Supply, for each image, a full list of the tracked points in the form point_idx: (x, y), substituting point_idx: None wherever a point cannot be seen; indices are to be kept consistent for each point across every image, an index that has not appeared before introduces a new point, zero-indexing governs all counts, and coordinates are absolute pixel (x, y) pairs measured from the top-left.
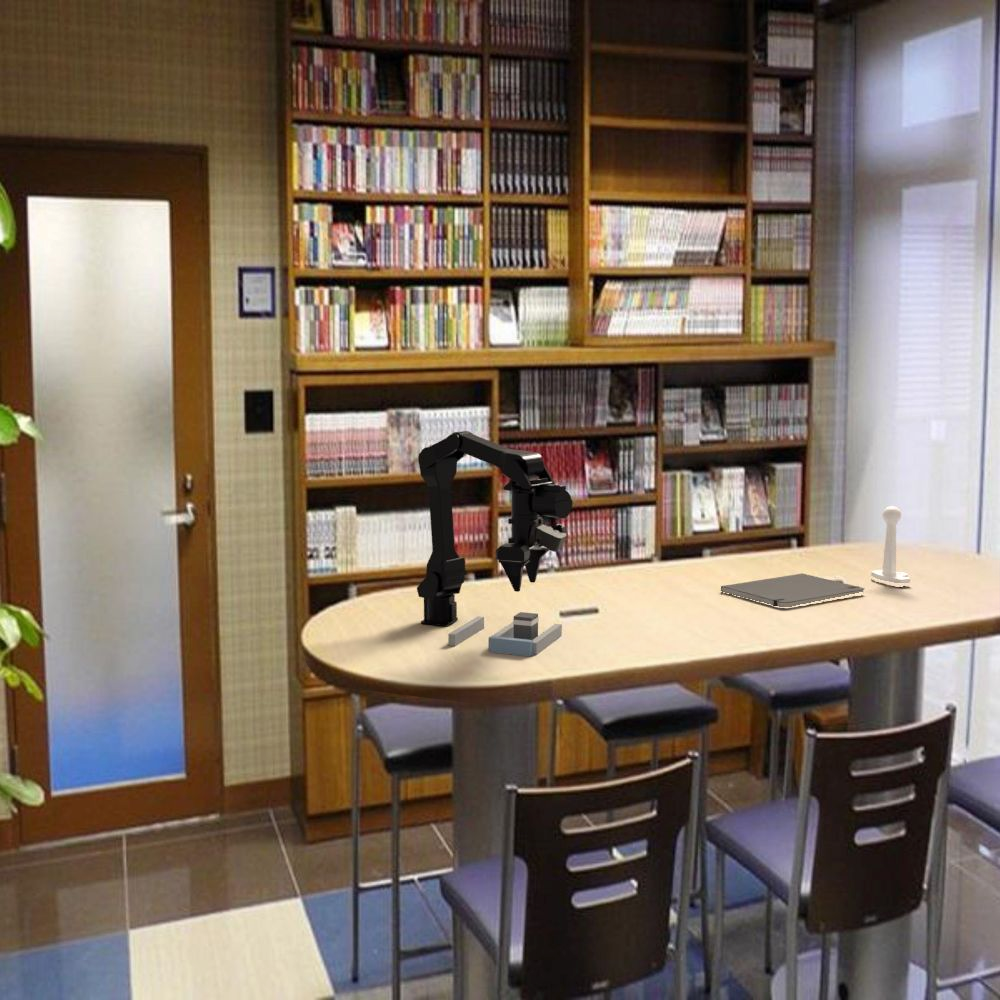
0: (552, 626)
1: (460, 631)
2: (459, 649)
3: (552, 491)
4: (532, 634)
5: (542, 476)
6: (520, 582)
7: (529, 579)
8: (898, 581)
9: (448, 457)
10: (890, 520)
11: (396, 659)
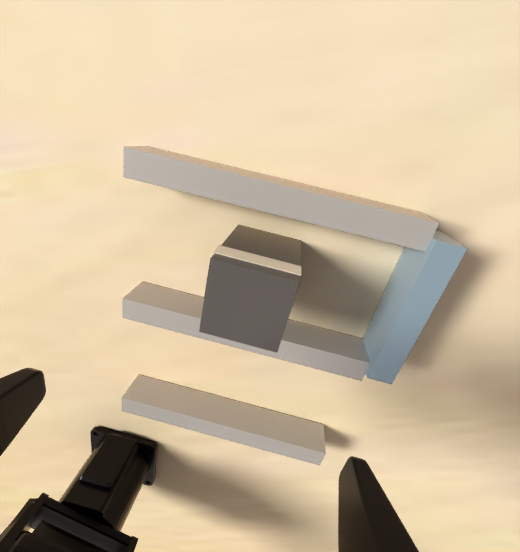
0: (168, 183)
1: (287, 442)
2: (352, 415)
3: None
4: (289, 250)
5: None
6: (405, 547)
7: (30, 413)
8: None
9: None
10: None
11: (440, 512)
